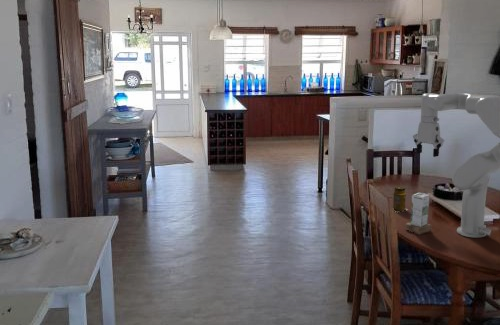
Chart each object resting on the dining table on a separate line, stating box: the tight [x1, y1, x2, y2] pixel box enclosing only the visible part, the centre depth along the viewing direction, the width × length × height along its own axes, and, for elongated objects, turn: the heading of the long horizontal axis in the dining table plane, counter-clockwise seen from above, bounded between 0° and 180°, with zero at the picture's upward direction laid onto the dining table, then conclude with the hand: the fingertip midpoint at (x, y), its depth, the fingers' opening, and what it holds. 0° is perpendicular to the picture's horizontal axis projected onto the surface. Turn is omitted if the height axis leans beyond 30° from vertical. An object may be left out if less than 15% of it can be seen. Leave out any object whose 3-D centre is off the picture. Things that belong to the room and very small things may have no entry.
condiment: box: [392, 186, 409, 214], centre depth 266 cm, size 7×8×12 cm
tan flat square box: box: [404, 222, 432, 236], centre depth 237 cm, size 8×8×3 cm
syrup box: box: [410, 192, 430, 227], centre depth 235 cm, size 6×6×14 cm
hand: (427, 154), depth 246 cm, fingers open, 9 cm apart
